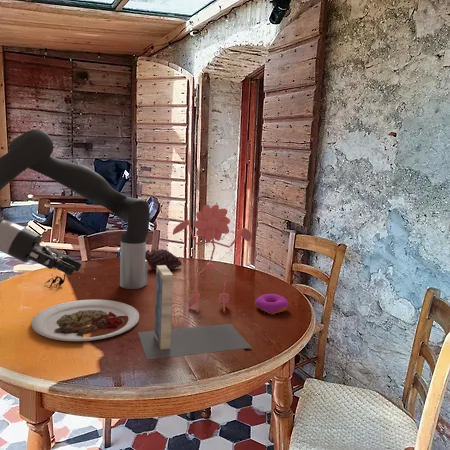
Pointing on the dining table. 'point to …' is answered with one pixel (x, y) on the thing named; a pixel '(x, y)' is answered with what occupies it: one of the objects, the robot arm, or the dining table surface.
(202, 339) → the rubber mat
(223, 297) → the figurine
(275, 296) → the donut
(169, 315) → the birch picture frame
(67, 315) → the plated food
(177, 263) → the pine cone
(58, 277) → the creature
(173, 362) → the dining table surface
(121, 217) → the robot arm
